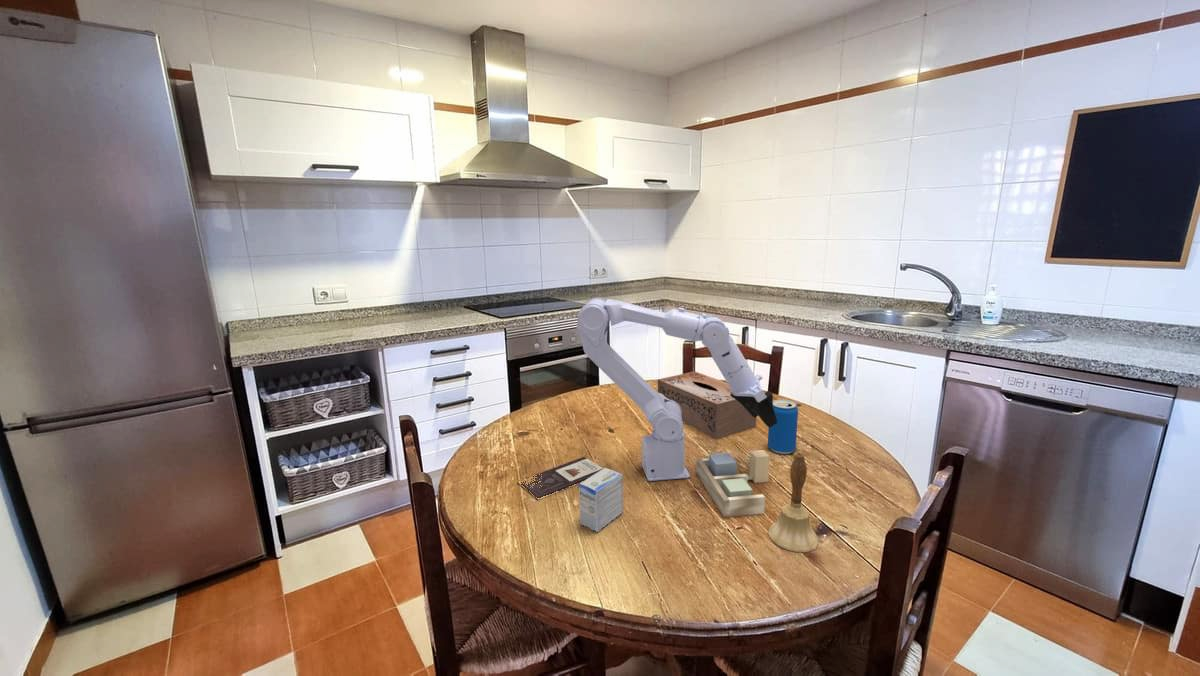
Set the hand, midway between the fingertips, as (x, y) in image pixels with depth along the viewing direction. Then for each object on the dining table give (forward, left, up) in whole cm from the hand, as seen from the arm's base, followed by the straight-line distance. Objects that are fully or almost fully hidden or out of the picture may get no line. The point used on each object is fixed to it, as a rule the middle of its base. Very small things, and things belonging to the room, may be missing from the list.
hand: (765, 419), depth 102 cm
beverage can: (+10, +11, -13) cm, 20 cm away
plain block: (-10, -10, -13) cm, 19 cm away
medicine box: (-37, -11, -13) cm, 41 cm away
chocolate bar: (-44, +6, -14) cm, 47 cm away
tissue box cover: (-2, +34, -13) cm, 36 cm away
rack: (-10, -6, -13) cm, 17 cm away
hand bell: (-4, -22, -13) cm, 26 cm away
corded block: (-6, -2, -13) cm, 14 cm away
